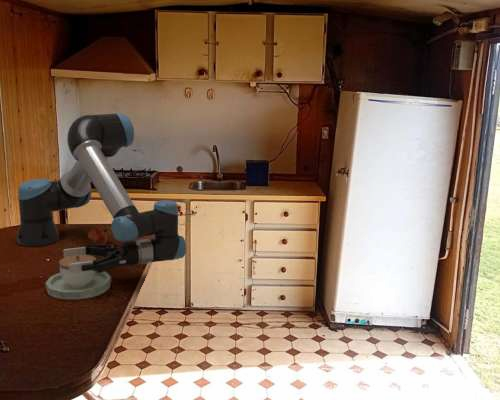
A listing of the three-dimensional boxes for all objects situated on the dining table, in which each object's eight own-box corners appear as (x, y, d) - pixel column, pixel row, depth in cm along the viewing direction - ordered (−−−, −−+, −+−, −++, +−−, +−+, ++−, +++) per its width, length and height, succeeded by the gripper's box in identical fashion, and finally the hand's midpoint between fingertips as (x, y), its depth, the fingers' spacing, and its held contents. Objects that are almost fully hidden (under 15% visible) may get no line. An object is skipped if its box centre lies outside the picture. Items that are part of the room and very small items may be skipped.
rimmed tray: (58, 275, 169) (57, 268, 169) (116, 276, 170) (115, 269, 169) (38, 299, 151) (37, 291, 151) (102, 300, 152) (102, 292, 152)
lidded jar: (86, 293, 154) (84, 262, 152) (53, 289, 156) (51, 259, 154) (103, 279, 165) (102, 251, 162) (72, 276, 167) (70, 248, 164)
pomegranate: (90, 255, 195) (112, 239, 195) (77, 240, 193) (99, 224, 193) (94, 251, 202) (115, 235, 202) (81, 236, 201) (102, 220, 201)
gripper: (147, 277, 156) (72, 288, 147) (128, 251, 178) (62, 259, 169) (146, 253, 154) (70, 262, 145) (127, 230, 176) (61, 237, 167)
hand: (66, 261), depth 157 cm, fingers open, 13 cm apart
